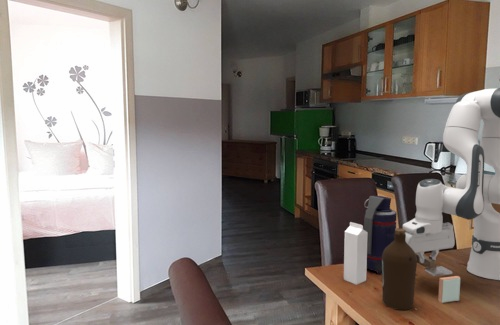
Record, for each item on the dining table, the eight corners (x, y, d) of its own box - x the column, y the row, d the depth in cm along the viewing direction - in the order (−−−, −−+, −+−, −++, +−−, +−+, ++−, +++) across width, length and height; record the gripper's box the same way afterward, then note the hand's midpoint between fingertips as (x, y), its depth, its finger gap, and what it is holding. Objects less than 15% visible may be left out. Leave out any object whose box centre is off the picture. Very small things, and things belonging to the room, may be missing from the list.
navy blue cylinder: (376, 261, 162) (378, 192, 159) (400, 270, 152) (403, 197, 149) (354, 268, 154) (355, 196, 151) (378, 278, 144) (380, 201, 141)
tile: (455, 298, 128) (457, 275, 127) (459, 300, 126) (460, 277, 125) (438, 300, 126) (439, 278, 125) (441, 303, 125) (443, 279, 124)
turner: (422, 258, 145) (422, 250, 144) (452, 273, 130) (452, 265, 130) (406, 260, 143) (406, 252, 143) (434, 276, 129) (435, 268, 128)
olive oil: (419, 302, 125) (422, 228, 123) (408, 314, 117) (411, 236, 115) (387, 292, 132) (390, 223, 130) (375, 304, 124) (377, 230, 122)
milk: (353, 275, 147) (354, 220, 145) (366, 280, 142) (368, 223, 140) (343, 279, 144) (344, 223, 141) (356, 285, 139) (357, 226, 137)
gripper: (446, 219, 141) (445, 255, 142) (398, 225, 136) (397, 262, 138) (459, 224, 135) (458, 261, 136) (409, 230, 130) (409, 268, 131)
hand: (427, 261), depth 137 cm, fingers closed on turner, 2 cm apart
